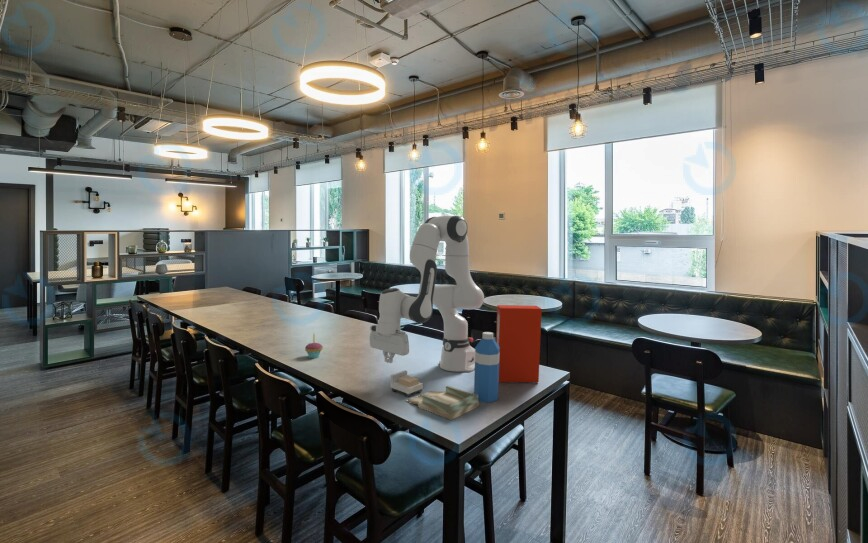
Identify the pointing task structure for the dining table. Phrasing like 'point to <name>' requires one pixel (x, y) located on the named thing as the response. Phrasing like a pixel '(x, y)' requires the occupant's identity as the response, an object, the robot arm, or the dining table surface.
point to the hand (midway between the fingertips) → (388, 362)
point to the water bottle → (487, 368)
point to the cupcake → (313, 349)
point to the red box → (518, 342)
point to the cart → (405, 383)
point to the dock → (447, 402)
